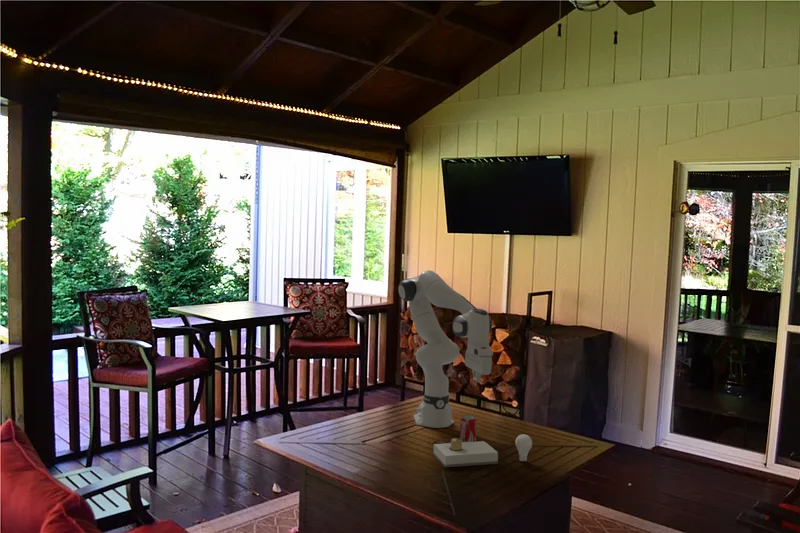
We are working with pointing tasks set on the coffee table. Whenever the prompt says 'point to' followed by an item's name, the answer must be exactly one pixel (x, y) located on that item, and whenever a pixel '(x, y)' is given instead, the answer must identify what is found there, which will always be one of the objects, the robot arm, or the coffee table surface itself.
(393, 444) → the coffee table surface
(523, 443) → the light bulb
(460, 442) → the olive glossy cylinder
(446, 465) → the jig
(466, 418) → the soda can
